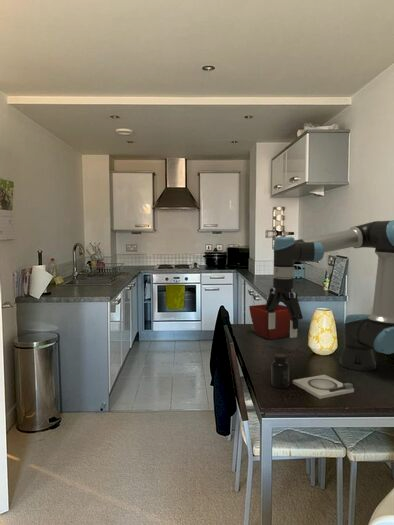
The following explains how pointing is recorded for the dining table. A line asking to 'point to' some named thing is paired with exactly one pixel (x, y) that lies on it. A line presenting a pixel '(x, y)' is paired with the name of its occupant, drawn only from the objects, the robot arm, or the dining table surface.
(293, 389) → the dining table surface
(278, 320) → the plant pot
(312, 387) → the record player
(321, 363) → the dining table surface
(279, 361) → the supplement bottle
